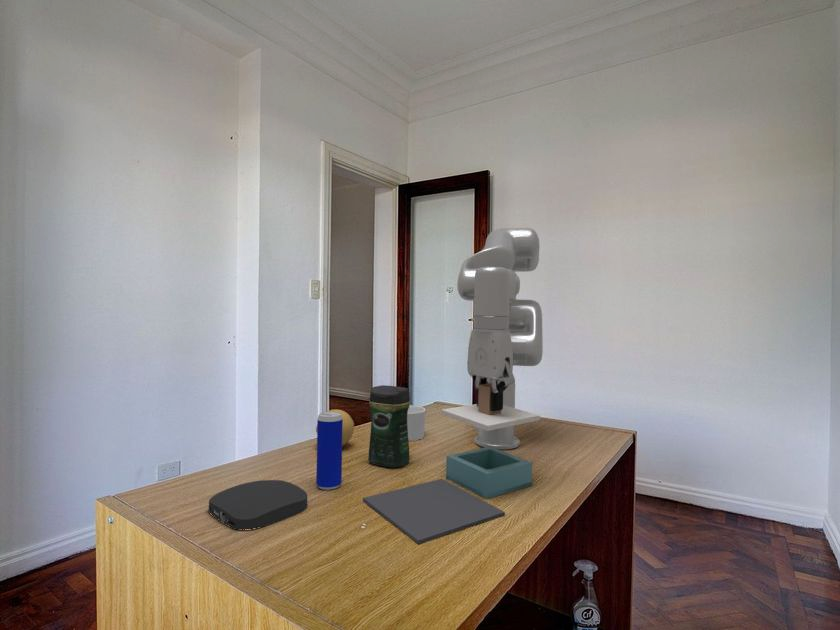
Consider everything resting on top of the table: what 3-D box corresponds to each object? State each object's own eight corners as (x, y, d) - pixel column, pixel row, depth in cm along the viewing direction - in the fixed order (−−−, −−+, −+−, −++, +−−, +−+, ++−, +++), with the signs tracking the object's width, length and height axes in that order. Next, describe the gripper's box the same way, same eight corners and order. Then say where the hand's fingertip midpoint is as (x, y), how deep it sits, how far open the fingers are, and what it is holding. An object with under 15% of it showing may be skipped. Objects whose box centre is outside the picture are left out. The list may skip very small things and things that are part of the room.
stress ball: (346, 456, 116) (367, 426, 122) (322, 431, 112) (345, 401, 118) (325, 453, 123) (346, 425, 129) (302, 429, 119) (325, 401, 125)
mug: (425, 442, 127) (425, 413, 127) (387, 441, 127) (388, 412, 127) (425, 429, 140) (425, 403, 140) (391, 428, 140) (392, 403, 140)
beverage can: (345, 483, 95) (347, 412, 95) (333, 492, 91) (334, 417, 90) (324, 479, 97) (325, 410, 97) (311, 488, 92) (312, 415, 92)
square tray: (446, 478, 99) (446, 455, 99) (489, 467, 107) (489, 446, 107) (486, 499, 89) (486, 473, 88) (531, 485, 96) (532, 462, 96)
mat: (362, 501, 87) (362, 498, 87) (441, 481, 97) (441, 478, 97) (418, 544, 71) (418, 540, 71) (504, 515, 82) (504, 511, 82)
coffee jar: (414, 461, 110) (415, 385, 110) (397, 471, 103) (398, 390, 103) (381, 454, 115) (382, 382, 115) (362, 463, 108) (364, 386, 108)
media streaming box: (315, 508, 84) (316, 492, 84) (241, 538, 73) (241, 519, 73) (272, 487, 93) (272, 473, 93) (200, 511, 82) (200, 494, 82)
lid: (441, 414, 100) (441, 382, 100) (490, 405, 109) (491, 376, 108) (487, 430, 88) (488, 395, 87) (539, 419, 96) (540, 387, 96)
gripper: (453, 322, 102) (452, 403, 103) (506, 326, 88) (504, 419, 89) (478, 322, 106) (477, 399, 107) (532, 326, 93) (530, 414, 93)
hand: (489, 407), depth 98 cm, fingers closed on lid, 3 cm apart
